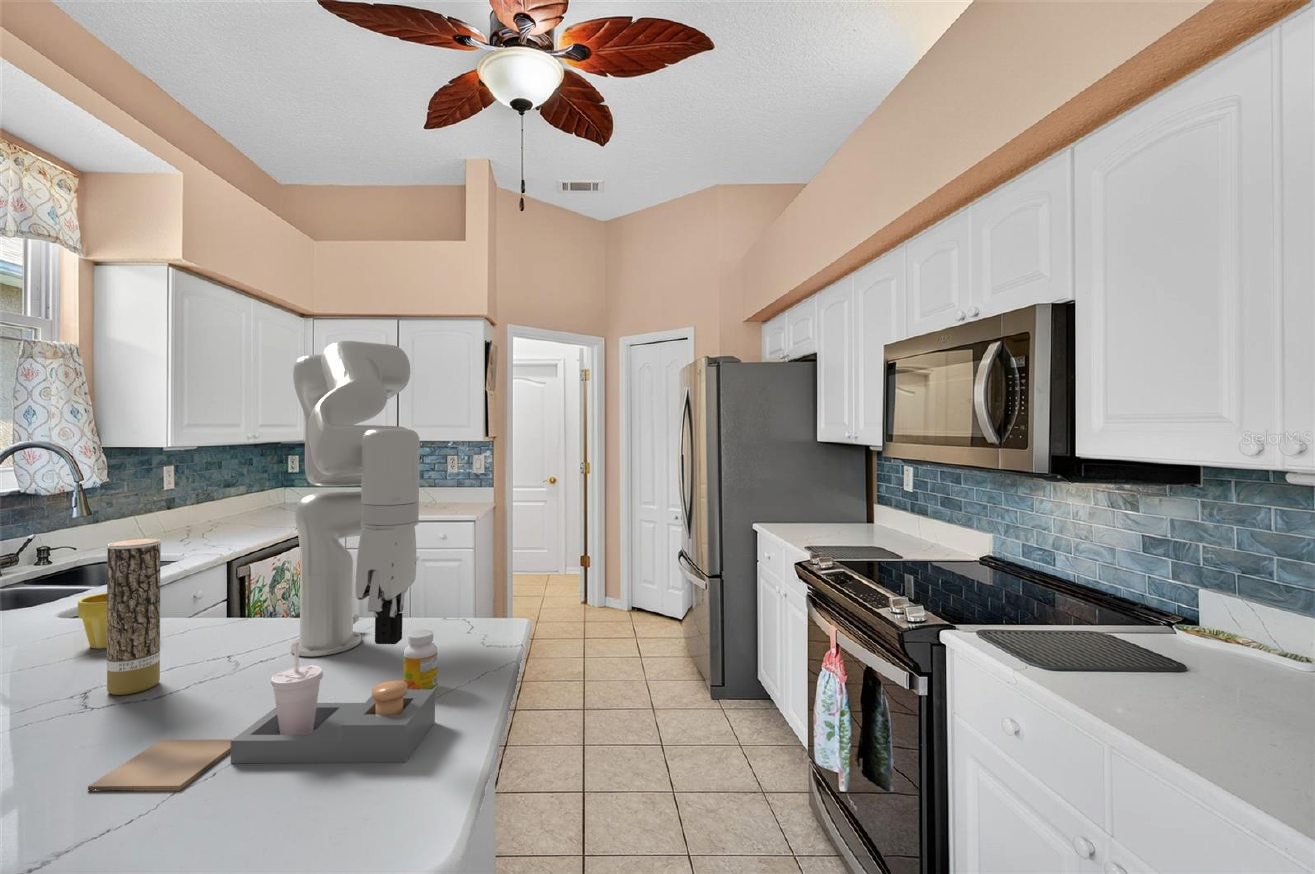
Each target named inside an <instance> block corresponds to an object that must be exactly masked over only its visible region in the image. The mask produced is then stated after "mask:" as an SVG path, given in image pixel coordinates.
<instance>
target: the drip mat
mask: <svg viewBox="0 0 1315 874" xmlns="http://www.w3.org/2000/svg"><path fill="white" fill-rule="evenodd" d="M231 740H232V738H231V739H160V740H159V741H157V742H156V743H155V744H153V745H151V746H150V747H148V748H145V750H144V751H141V752H140V753H138V754H137V755H135V756H133V757H132V758H130V759H129V760H128V761H126V762H124V763H123V764H121V765H119V766H118V767H116V768H115V769H113V770H111V771H110V772H109V773H107V774H105V775H104V776H102V777H101V778H99V779H97V780H96V781H94V782H92V783H91V784H90V785H87V791H88V790H95V789H96V790H124V791H123V792H126V791H125V790H128V791H127V792H145V790H146V792H155V791H156V792H164V791H165V792H166V791H167V792H170V791H171V792H176V791H178V792H179V791H181V790H182V789H184V788H185V787H186V786H188V785H189V784H190V783H192V782H193V781H194V780H196V779H198V778H199V777H200V776H201V775H202V774H204V773H205V772H206V771H207V770H208V769H210V768H211V767H212V766H214V765H215V764H216V763H218V762H219V761H221V759H223V758H224V757H225V756H227V755H228V754H231ZM129 790H130V791H129ZM132 790H133V791H132Z"/></svg>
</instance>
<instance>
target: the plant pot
mask: <svg viewBox="0 0 1315 874" xmlns="http://www.w3.org/2000/svg"><path fill="white" fill-rule="evenodd" d="M77 616H78V618H79V619H81V620H82V622H83V627H84V630H85V633H86V637H87V641H88V645H89V648H92V649H98V650H99V649H107V592H104V593H103V592H102V593H98V594H94V595H90V596H89V595H88V596H86V597H83V598H80V599H79V600H78V601H77Z"/></svg>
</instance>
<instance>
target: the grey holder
mask: <svg viewBox="0 0 1315 874" xmlns="http://www.w3.org/2000/svg"><path fill="white" fill-rule="evenodd" d="M435 718H436V689H407V694H406V695H405V696H403V711H402V713H401V714H376V701H375V700H373V699H372V695H371V696H370V698H368V699H367V700H366V701H364V702H317V707H316V714H315V721H314V728H313V732H312V733H311V734H310V735H280V730H279V723H278V716H277V709H276V707H274V708H273V709H271V710H270V711H269V712H267V713H266V714H265V715H263V716H262V717H261V718H259V719H258V720H257V721H255V722H254V723H253V724H251V725H250V726H249V727H247V728H246V729H244V730H243V731H242V732H240V733H239V734H238V735H236V736H235V737H234V738H233V739H232V738H231V739H232V740H231V752H230V764H308V763H309V764H312V763H313V764H314V763H315V764H322V763H323V764H328V763H329V764H330V763H331V764H334V763H335V764H336V763H337V764H340V763H341V764H343V763H346V764H347V763H349V764H350V763H351V764H352V763H355V764H357V763H363V764H364V763H365V764H366V763H407V761H408V760H409V758H410V757H411V756H412V754H413V753H414V752H415V750H416V749H417V747H418V746H419V745H420V743H421V742H422V741H423V739H424V738H425V736H426V735H427V734H428V732H429V731H430V730H431V728H432V726H433V725H434V724H435V723H436V719H435ZM315 728H316V729H315Z"/></svg>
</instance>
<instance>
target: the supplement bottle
mask: <svg viewBox="0 0 1315 874" xmlns="http://www.w3.org/2000/svg"><path fill="white" fill-rule="evenodd" d="M407 639H408V640H407V642H408V646H406V647H405V648H404V651H403V679H402V681H404V682H406V683H407V689H435V690H437V687H438V647H437V646H438V645H436V644H435V643H434V642H433V641H434V631H433V630H430V629H419V630H414V631H411V632H410V633H408V636H407Z"/></svg>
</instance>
